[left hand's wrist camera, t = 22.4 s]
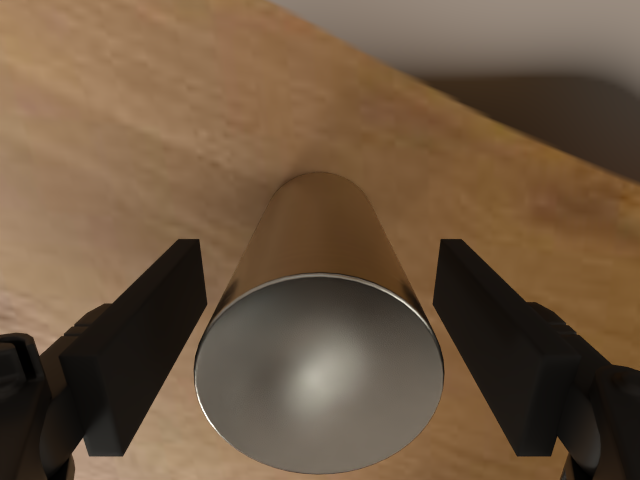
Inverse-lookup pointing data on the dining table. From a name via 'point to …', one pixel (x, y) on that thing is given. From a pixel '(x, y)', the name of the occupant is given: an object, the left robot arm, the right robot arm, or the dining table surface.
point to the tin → (319, 338)
